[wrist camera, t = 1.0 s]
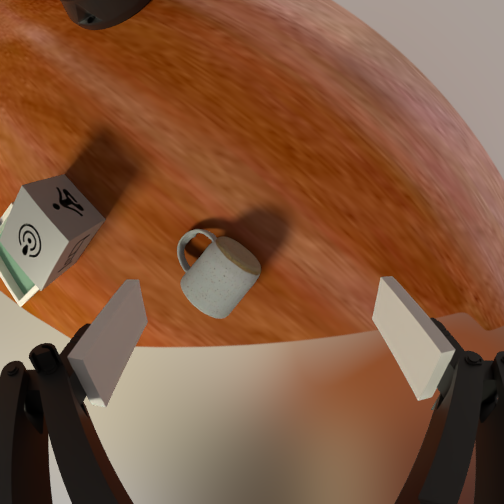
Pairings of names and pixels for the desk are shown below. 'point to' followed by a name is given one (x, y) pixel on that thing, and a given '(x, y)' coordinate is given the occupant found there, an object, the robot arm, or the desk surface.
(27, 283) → the shallow square tray
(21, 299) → the green and white tray
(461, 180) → the desk surface
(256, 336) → the desk surface
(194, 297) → the ceramic mug
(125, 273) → the desk surface
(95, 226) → the icon cube
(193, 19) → the desk surface
